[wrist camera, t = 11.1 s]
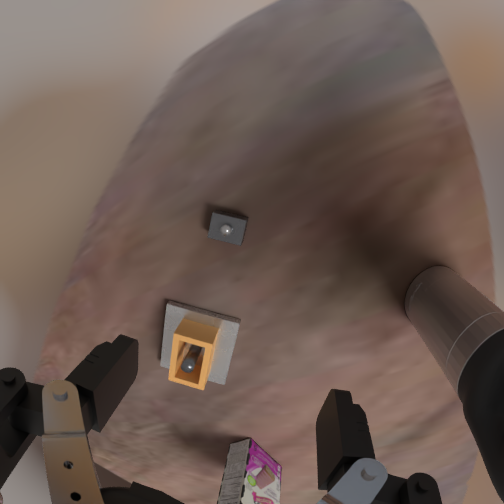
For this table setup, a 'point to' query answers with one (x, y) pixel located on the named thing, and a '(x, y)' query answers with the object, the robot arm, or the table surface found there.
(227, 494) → the candy bar box
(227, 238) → the grey knob block
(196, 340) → the orange link
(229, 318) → the plate
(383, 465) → the robot arm
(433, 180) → the table surface
